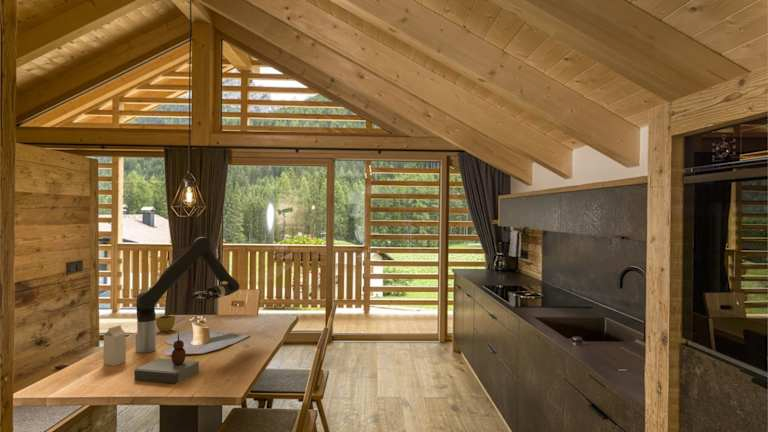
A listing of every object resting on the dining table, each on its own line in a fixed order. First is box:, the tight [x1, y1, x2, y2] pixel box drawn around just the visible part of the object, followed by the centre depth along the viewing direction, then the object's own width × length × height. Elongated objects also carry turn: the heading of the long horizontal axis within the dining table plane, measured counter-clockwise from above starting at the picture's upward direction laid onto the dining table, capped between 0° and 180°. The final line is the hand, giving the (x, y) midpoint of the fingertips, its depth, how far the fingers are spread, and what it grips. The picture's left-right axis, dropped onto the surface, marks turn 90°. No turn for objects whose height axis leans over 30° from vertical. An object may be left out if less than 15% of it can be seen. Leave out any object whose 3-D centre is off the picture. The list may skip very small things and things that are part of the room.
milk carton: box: [103, 324, 127, 367], centre depth 239 cm, size 7×7×19 cm
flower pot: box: [156, 314, 176, 333], centre depth 303 cm, size 9×9×9 cm
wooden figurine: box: [170, 332, 186, 365], centre depth 223 cm, size 7×6×15 cm
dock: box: [133, 357, 200, 385], centre depth 222 cm, size 22×17×5 cm
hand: (198, 297), depth 251 cm, fingers open, 8 cm apart
